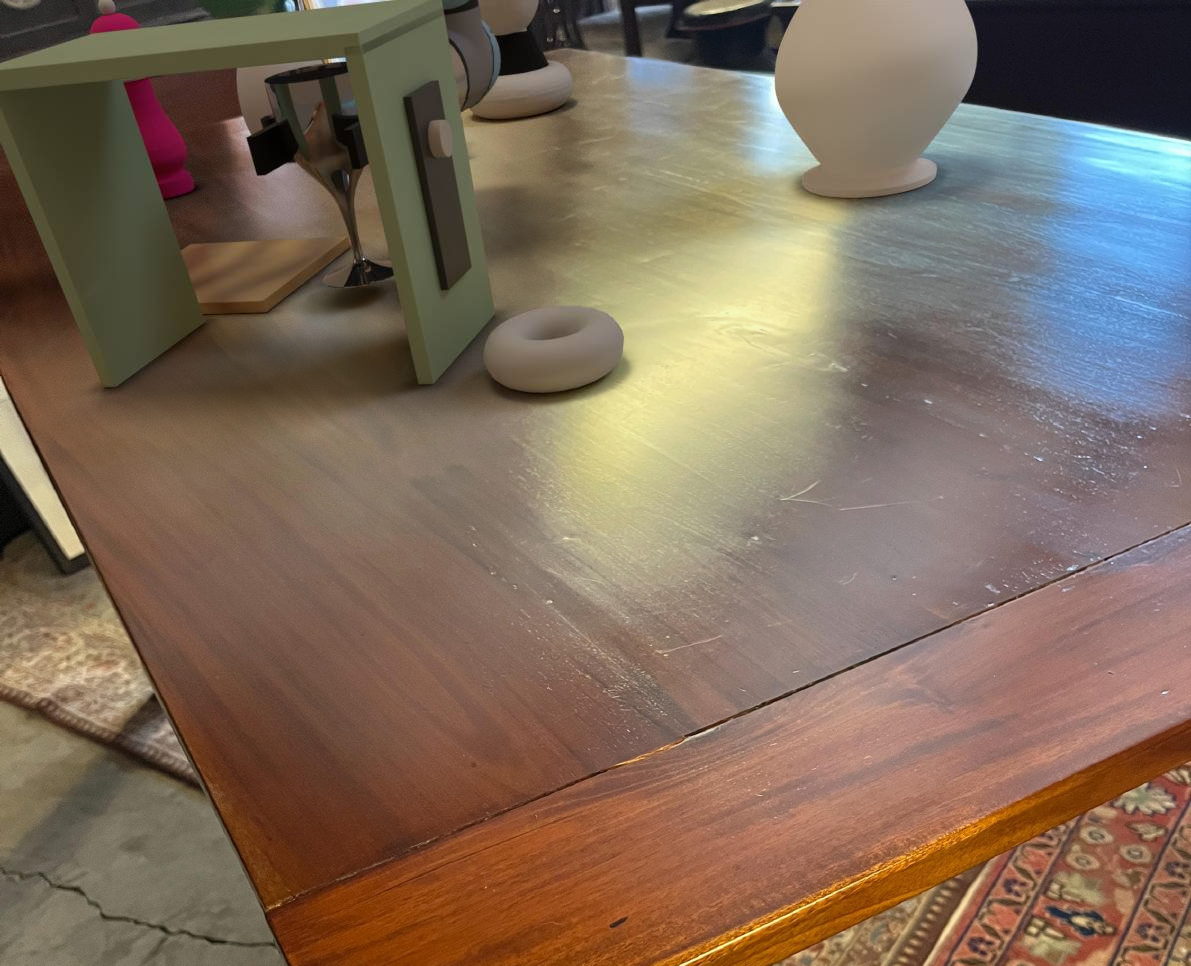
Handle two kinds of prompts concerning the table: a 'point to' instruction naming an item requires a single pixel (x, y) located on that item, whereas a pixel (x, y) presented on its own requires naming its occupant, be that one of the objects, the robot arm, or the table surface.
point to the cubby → (136, 207)
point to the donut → (553, 349)
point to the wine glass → (325, 150)
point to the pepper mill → (150, 117)
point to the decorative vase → (873, 88)
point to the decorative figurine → (520, 65)
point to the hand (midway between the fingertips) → (303, 153)
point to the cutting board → (255, 271)
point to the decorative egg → (260, 90)
